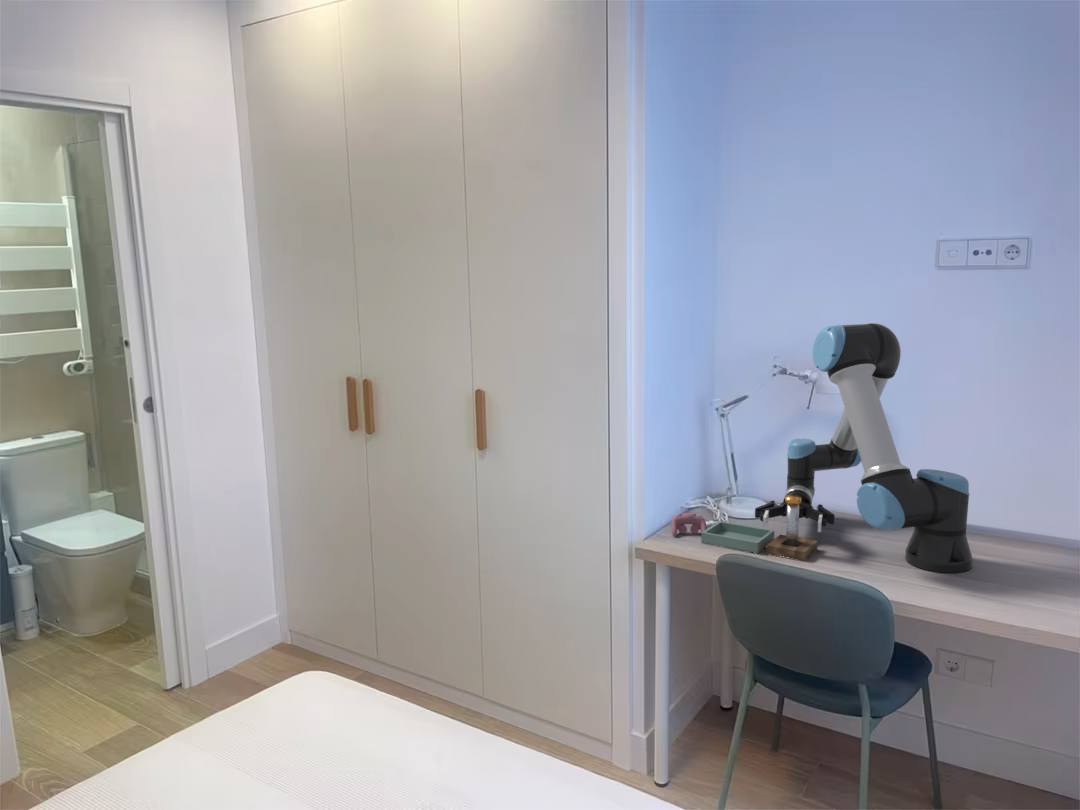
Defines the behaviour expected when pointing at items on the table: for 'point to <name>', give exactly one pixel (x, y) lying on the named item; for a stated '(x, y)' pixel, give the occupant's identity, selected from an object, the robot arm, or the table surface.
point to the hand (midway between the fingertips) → (791, 524)
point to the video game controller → (687, 519)
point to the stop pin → (792, 519)
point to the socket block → (792, 548)
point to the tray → (737, 536)
